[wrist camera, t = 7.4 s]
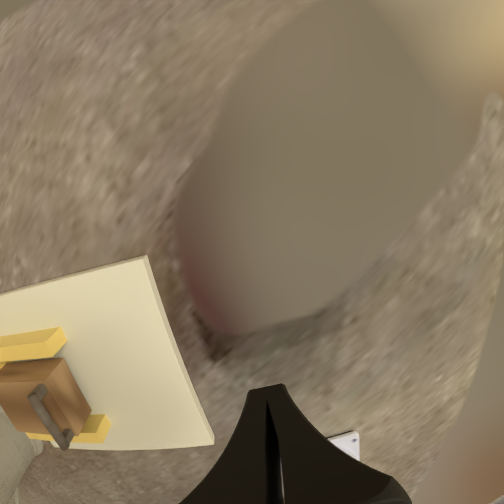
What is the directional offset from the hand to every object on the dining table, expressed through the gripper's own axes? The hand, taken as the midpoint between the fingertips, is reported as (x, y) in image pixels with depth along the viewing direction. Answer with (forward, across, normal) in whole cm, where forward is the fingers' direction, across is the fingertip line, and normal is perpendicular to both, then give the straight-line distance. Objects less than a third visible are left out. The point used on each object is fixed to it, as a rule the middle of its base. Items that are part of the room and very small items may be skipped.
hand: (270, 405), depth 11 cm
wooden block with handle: (+9, +18, +3) cm, 20 cm away
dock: (+10, +14, +3) cm, 18 cm away
